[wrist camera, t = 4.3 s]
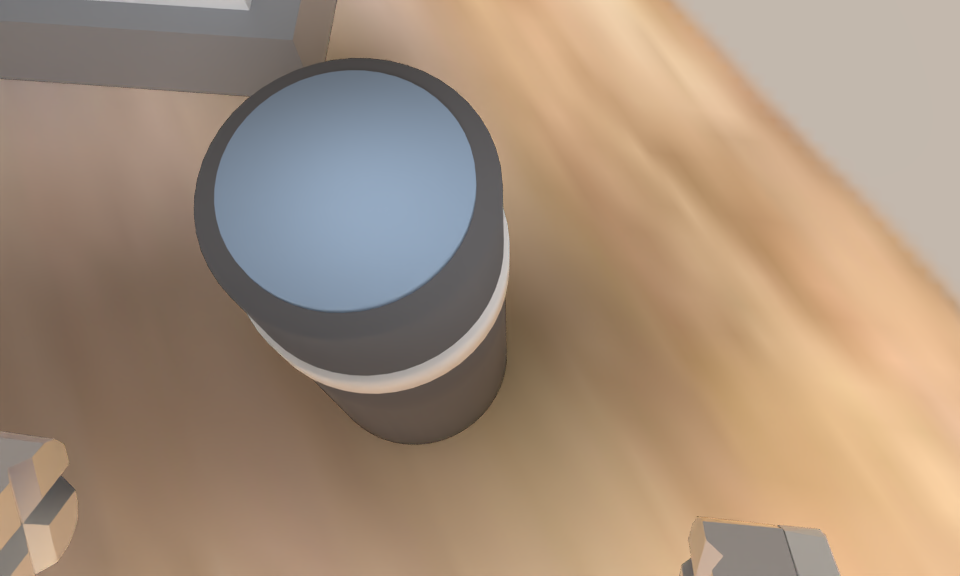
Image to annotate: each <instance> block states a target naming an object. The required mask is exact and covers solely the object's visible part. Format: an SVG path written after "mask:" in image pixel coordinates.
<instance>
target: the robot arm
mask: <svg viewBox="0 0 960 576" xmlns="http://www.w3.org/2000/svg"><path fill="white" fill-rule="evenodd" d="M69 464H70V463H69V459H68V456H67V452H66V448H65V445H64V443H62V442H60V441H58V440H56V439H51V438H45V437H38V436H31V435H24V434H17V433H10V432H3V431H0V576H36V574H38V573H40V572H41V571H43V570H45V569H47V568H48V567H50V566H52V565H54V564H55V563H57V562H58V561H59V559H60V558H61V556H62V555H63V553H64V552H65V550H66V549H67V547H68V546H69V544H70V542H71V539H72V536H73V533H74V530H75V527H76V524H77V519H78V501H77V496H76V491H75V489H74V488H73V487H72V486H71V485H70V484H69V483H68V482H67V481H66V480H65V479H64V478H63V477H62V476H61V475H62V473H63V472H64V470H65V469H66V468H67V466H68V465H69ZM688 541H689V547H690V553H691V558H690V559H689V560H688V561H686V562H685V563H684V564H682V565H681V569H680V574H679V576H841V575H840V572H839V569H838V567H837V564H836V561H835V559H834V556H833V553H832V551H831V548H830V545H829V543H828V540H827V537H826V535H825V534H824V533H823V532H822V531H821V530H820V529H813V528H803V527H794V526H784V525H778V526H775V525H770V524H761V523H753V522H744V521H735V520H726V519H717V518H708V517H699V516H697V517H696V519H695V521H694V522H693V524H692V527H691V531H690V535H689V538H688Z"/></svg>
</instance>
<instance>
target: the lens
mask: <svg viewBox="0 0 960 576" xmlns="http://www.w3.org/2000/svg"><path fill="white" fill-rule="evenodd" d="M194 219H195V227H196V234H197V238H198V241H199V245H200V249H201V252H202V254H203V256H204V258H205V261H206V263H207V265H208V267H209V269H210V271H211V272H212V274H213V275H214V277H215V278H216V280H217V281H218V283H219V284H220V285H221V287H222V288H223V289H224V290H225V291H226V292H227V293H228V295H229V296H230V297H231V298H232V299H233V300H234V301H235V302H236V303H237V304H238V305H239V306H240V307H241V308H242V309H243V310H244V311H245V312H246V313H247V315H248V317H249V318H250V320H251V321H252V323H253V325H254V326H255V328H256V329H257V331H258V332H259V333H260V334H261V335H262V337H263V338H264V339H265V340H266V341H267V342H268V343H269V344H270V345H271V346H272V347H273V348H274V349H275V350H276V351H277V352H278V353H279V354H280V355H281V356H282V357H283V358H284V359H285V360H286V361H288V362H289V363H290V364H291V365H292V366H293V367H295V368H296V369H297V370H299V371H300V372H302V373H303V374H305V375H306V376H308V377H309V378H311V379H313V380H314V381H315V382H316V383H317V384H318V385H319V386H320V387H321V388H322V389H323V390H324V391H325V392H326V393H327V394H328V395H329V396H330V397H331V398H332V399H333V400H334V401H335V402H336V403H337V404H338V405H339V406H340V407H341V408H342V409H343V410H344V411H345V412H346V413H347V414H348V415H349V416H350V417H351V418H352V419H353V420H354V421H355V422H356V423H357V424H358V425H360V426H361V427H362V428H364V429H365V430H367V431H368V432H370V433H371V434H373V435H376V436H378V437H380V438H382V439H385V440H388V441H392V442H396V443H402V444H427V443H433V442H437V441H441V440H444V439H446V438H449V437H452V436H454V435H456V434H458V433H460V432H461V431H463V430H465V429H466V428H468V427H469V426H470V425H472V424H473V423H474V422H475V421H476V420H477V419H479V418H480V417H481V416H482V415H483V414H484V412H485V411H486V410H487V409H488V407H489V406H490V405H491V403H492V402H493V400H494V398H495V397H496V395H497V393H498V391H499V388H500V386H501V383H502V380H503V377H504V373H505V367H506V353H507V349H506V308H505V296H506V292H507V286H508V280H509V264H510V250H509V233H508V224H507V220H506V216H505V212H504V209H503V184H502V175H501V166H500V162H499V158H498V154H497V151H496V147H495V145H494V143H493V140H492V138H491V136H490V133H489V131H488V130H487V128H486V126H485V125H484V123H483V121H482V120H481V118H480V117H479V115H478V114H477V113H476V112H475V110H474V109H473V108H472V107H471V106H470V104H469V103H468V102H467V101H466V100H465V99H464V98H463V97H461V96H460V95H459V94H458V93H457V92H456V91H455V90H454V89H452V88H451V87H449V86H448V85H446V84H445V83H444V82H442V81H441V80H439V79H437V78H435V77H433V76H431V75H430V74H428V73H426V72H424V71H421V70H418V69H416V68H413V67H410V66H408V65H404V64H400V63H396V62H392V61H387V60H379V59H371V58H348V59H339V60H331V61H326V62H321V63H317V64H313V65H310V66H307V67H304V68H301V69H298V70H295V71H293V72H290V73H288V74H286V75H284V76H282V77H280V78H278V79H276V80H274V81H273V82H271V83H269V84H268V85H266V86H264V87H263V88H261V89H260V90H258V91H257V92H256V93H255V94H253V95H252V96H251V97H249V98H248V99H247V100H246V101H245V102H244V103H242V104H241V105H240V106H239V107H238V108H237V109H236V110H235V111H234V112H233V113H232V114H231V116H230V117H229V118H228V119H227V121H226V122H225V123H224V124H223V126H222V127H221V128H220V130H219V131H218V133H217V134H216V136H215V138H214V139H213V141H212V142H211V144H210V146H209V148H208V151H207V153H206V155H205V157H204V159H203V162H202V165H201V168H200V172H199V175H198V178H197V184H196V190H195V196H194Z"/></svg>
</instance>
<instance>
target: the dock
mask: <svg viewBox="0 0 960 576" xmlns="http://www.w3.org/2000/svg"><path fill="white" fill-rule="evenodd" d="M336 2H337V0H0V78H1V79H15V80H29V81H43V82H57V83H71V84H85V85H99V86H113V87H127V88H141V89H155V90H169V91H183V92H196V93H210V94H224V95H238V96H252V95H253V94H255V93H256V92H257V91H258V90H260V89H261V88H263V87H264V86H266V85H268V84H269V83H271V82H273V81H274V80H276V79H278V78H280V77H282V76H284V75H286V74H288V73H290V72H293V71H295V70H298V69H301V68H304V67H307V66H310V65H313V64H317V63H321V62H325V59H326V54H327V49H328V44H329V38H330V33H331V28H332V23H333V18H334V12H335V7H336Z"/></svg>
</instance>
